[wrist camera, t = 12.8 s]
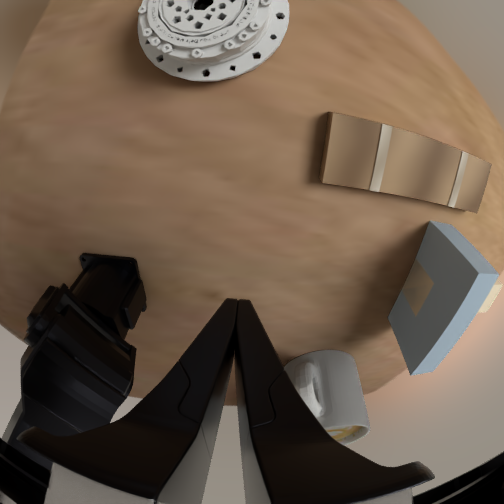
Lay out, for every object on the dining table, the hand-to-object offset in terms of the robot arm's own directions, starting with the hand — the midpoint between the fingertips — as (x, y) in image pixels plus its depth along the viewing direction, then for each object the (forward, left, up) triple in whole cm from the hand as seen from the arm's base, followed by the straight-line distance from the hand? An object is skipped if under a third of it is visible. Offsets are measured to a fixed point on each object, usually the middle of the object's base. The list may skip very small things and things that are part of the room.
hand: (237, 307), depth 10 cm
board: (+13, +4, -12) cm, 18 cm away
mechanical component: (-3, +13, -12) cm, 18 cm away
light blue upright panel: (+22, -7, -12) cm, 26 cm away
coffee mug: (+10, -21, -12) cm, 27 cm away
